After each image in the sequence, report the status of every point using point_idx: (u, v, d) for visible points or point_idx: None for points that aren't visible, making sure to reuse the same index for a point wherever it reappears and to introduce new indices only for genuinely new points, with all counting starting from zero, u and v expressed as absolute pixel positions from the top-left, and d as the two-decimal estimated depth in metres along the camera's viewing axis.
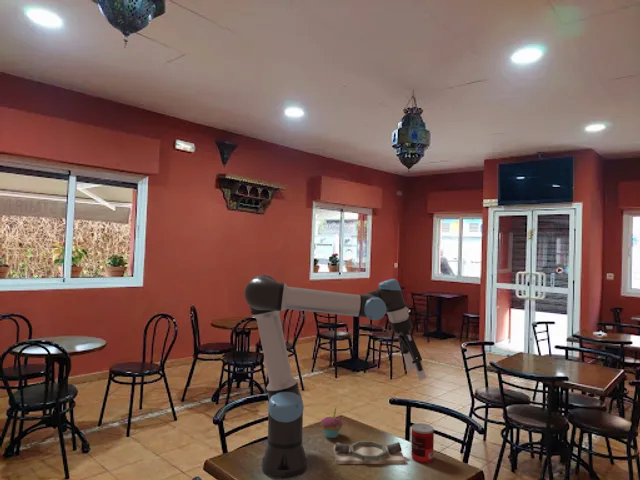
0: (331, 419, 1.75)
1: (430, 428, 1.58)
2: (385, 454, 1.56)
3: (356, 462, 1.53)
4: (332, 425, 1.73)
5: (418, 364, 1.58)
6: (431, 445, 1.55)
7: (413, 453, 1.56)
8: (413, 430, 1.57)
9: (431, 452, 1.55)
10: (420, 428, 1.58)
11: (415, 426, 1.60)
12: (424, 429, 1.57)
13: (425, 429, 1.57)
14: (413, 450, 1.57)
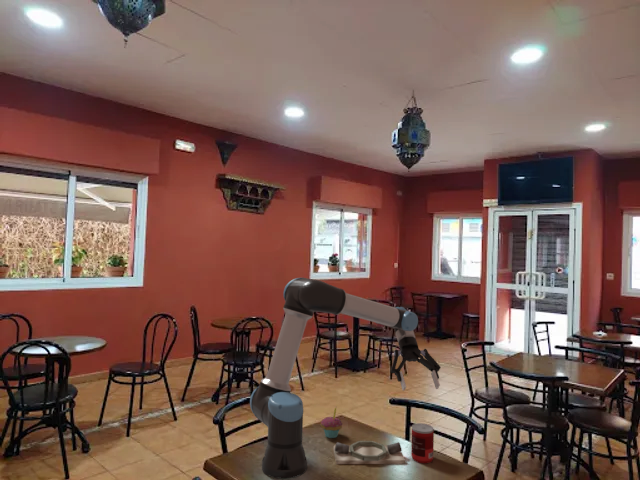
0: (331, 419, 1.75)
1: (430, 428, 1.58)
2: (385, 454, 1.56)
3: (356, 462, 1.53)
4: (332, 425, 1.73)
5: None
6: (431, 445, 1.55)
7: (413, 453, 1.56)
8: (413, 430, 1.57)
9: (431, 452, 1.55)
10: (420, 428, 1.58)
11: (415, 426, 1.60)
12: (424, 429, 1.57)
13: (425, 429, 1.57)
14: (413, 450, 1.57)
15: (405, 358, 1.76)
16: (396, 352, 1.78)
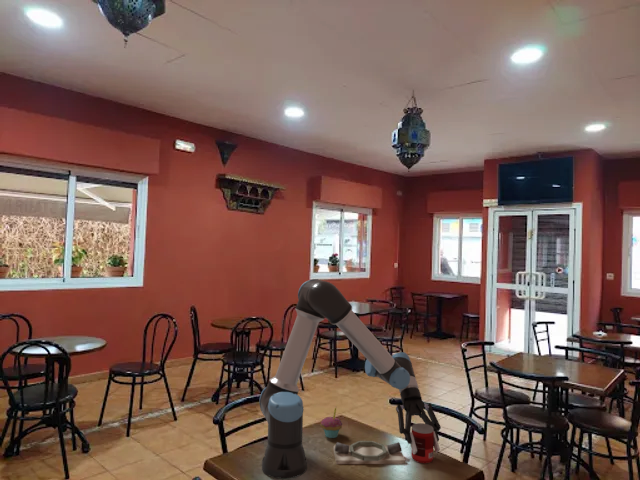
0: (331, 419, 1.75)
1: (430, 428, 1.58)
2: (385, 454, 1.56)
3: (356, 462, 1.53)
4: (332, 425, 1.73)
5: None
6: (431, 445, 1.55)
7: None
8: (413, 430, 1.57)
9: (431, 452, 1.55)
10: (420, 428, 1.58)
11: (415, 426, 1.60)
12: (424, 429, 1.57)
13: (425, 429, 1.57)
14: None
15: (410, 414, 1.63)
16: (399, 408, 1.64)
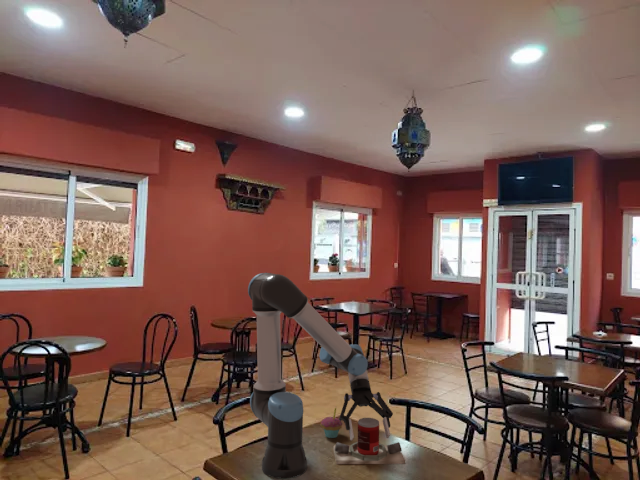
0: (331, 419, 1.75)
1: (376, 422, 1.59)
2: (385, 454, 1.56)
3: (356, 462, 1.53)
4: (332, 425, 1.73)
5: None
6: (376, 439, 1.57)
7: (358, 447, 1.58)
8: (359, 424, 1.58)
9: (376, 446, 1.57)
10: (366, 422, 1.59)
11: (361, 420, 1.61)
12: (370, 423, 1.59)
13: (371, 423, 1.59)
14: (358, 444, 1.58)
15: (355, 403, 1.64)
16: (346, 396, 1.66)
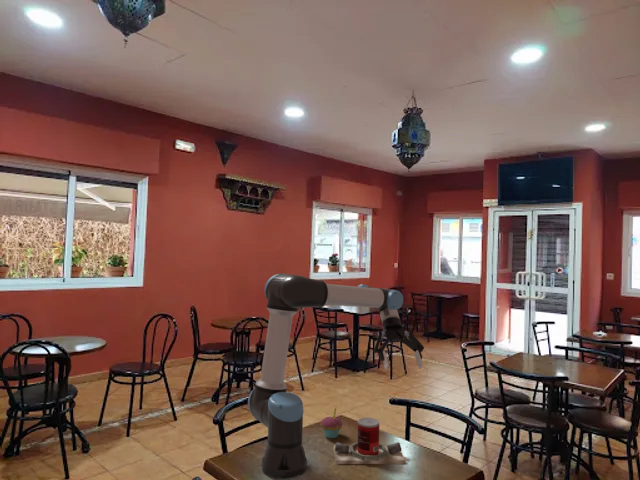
0: (331, 419, 1.75)
1: (376, 422, 1.59)
2: (385, 454, 1.56)
3: (356, 462, 1.53)
4: (332, 425, 1.73)
5: None
6: (376, 439, 1.57)
7: (358, 447, 1.58)
8: (359, 424, 1.58)
9: (376, 446, 1.57)
10: (366, 422, 1.59)
11: (361, 420, 1.61)
12: (370, 423, 1.59)
13: (371, 423, 1.59)
14: (358, 444, 1.58)
15: (388, 338, 1.75)
16: (380, 332, 1.77)
